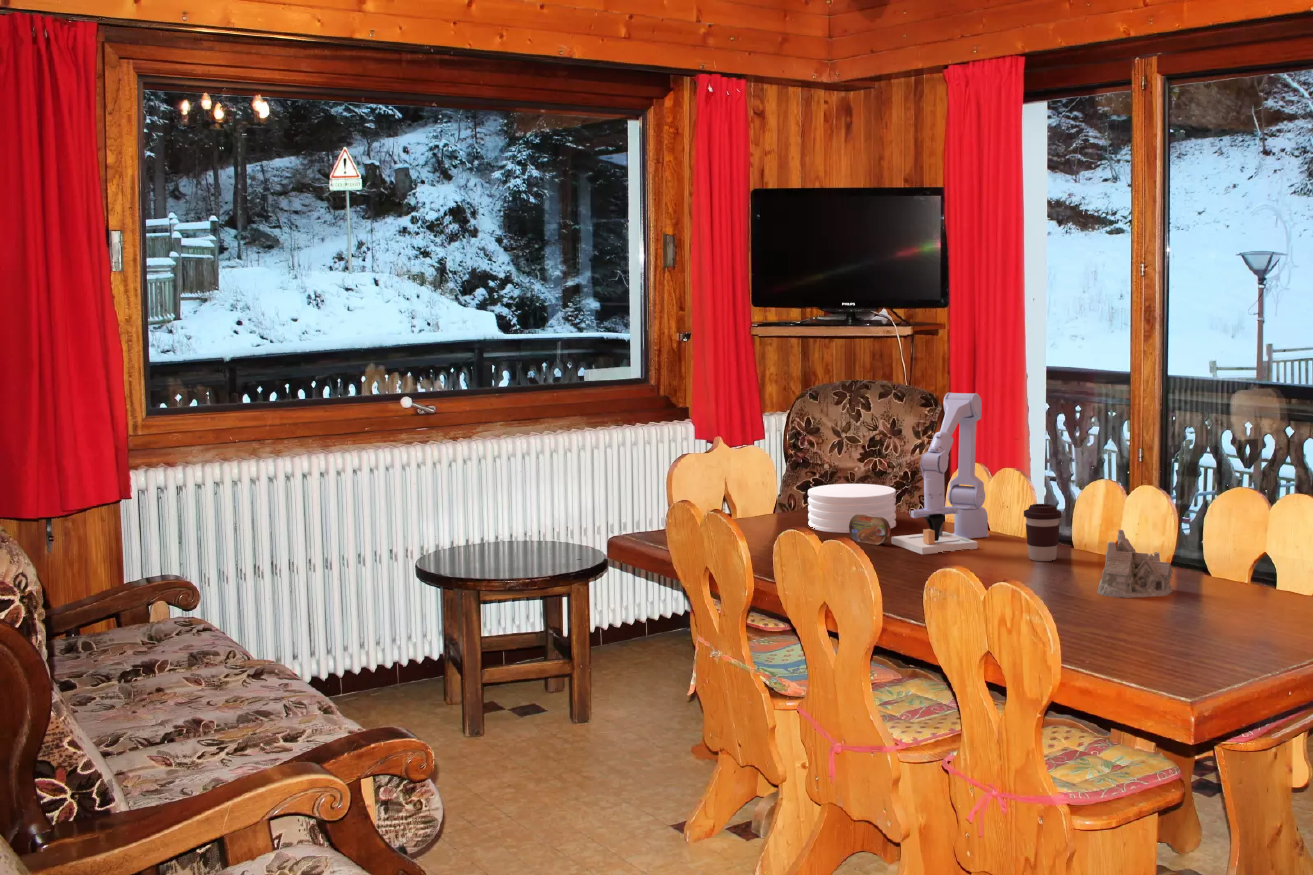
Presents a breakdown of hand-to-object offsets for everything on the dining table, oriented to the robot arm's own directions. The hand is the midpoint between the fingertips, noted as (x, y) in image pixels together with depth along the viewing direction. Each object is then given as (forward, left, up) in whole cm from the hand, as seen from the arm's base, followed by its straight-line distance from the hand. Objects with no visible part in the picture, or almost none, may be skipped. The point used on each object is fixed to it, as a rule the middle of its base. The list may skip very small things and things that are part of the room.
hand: (934, 540), depth 368 cm
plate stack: (+3, -47, -3) cm, 47 cm away
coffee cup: (-20, +24, -3) cm, 31 cm away
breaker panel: (-3, -5, -3) cm, 6 cm away
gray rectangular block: (-7, -10, -1) cm, 12 cm away
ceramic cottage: (-17, +65, -3) cm, 68 cm away
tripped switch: (+2, 0, -1) cm, 2 cm away
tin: (+11, -18, -3) cm, 22 cm away
